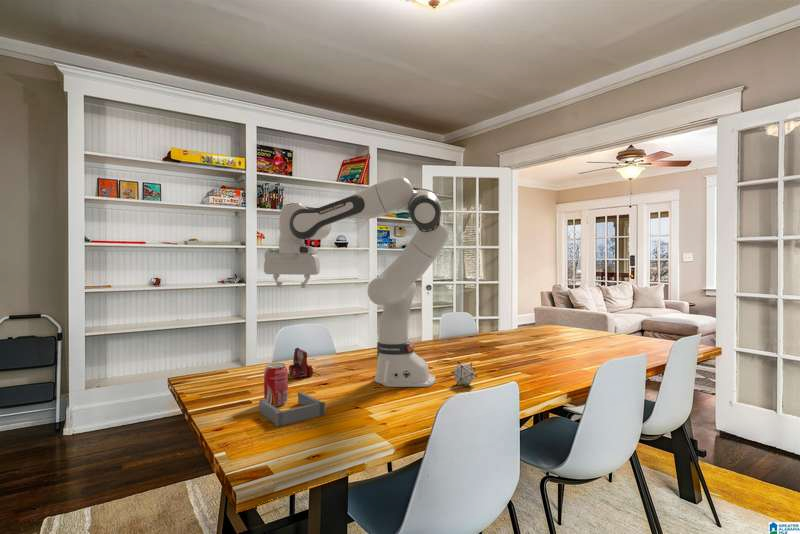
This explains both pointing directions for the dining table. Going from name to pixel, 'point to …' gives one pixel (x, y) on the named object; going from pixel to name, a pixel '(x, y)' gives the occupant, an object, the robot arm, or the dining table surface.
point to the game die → (464, 374)
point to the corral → (293, 410)
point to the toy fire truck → (300, 364)
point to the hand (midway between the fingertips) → (291, 287)
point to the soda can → (276, 384)
